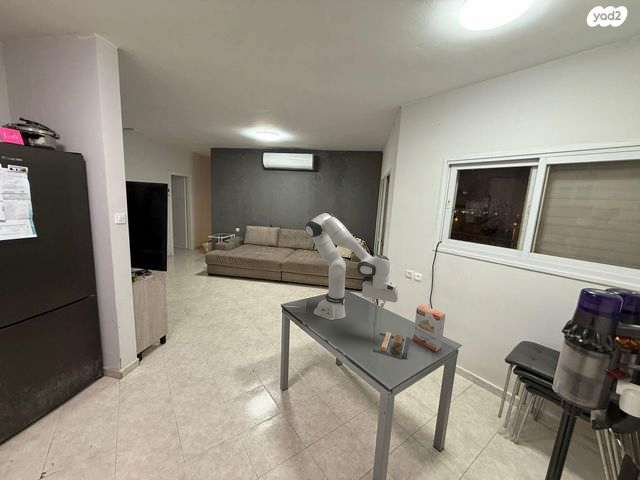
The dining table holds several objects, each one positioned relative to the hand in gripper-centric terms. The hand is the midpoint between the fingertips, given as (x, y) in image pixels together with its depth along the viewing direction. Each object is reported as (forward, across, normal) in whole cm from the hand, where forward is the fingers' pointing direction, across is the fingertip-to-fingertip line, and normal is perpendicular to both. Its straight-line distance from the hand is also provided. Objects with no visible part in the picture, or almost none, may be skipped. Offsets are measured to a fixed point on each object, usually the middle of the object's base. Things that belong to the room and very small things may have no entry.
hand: (378, 306), depth 143 cm
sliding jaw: (+19, +6, -6) cm, 21 cm away
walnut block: (+19, +13, -8) cm, 24 cm away
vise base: (+19, +10, -6) cm, 22 cm away
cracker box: (+19, +28, +5) cm, 34 cm away
